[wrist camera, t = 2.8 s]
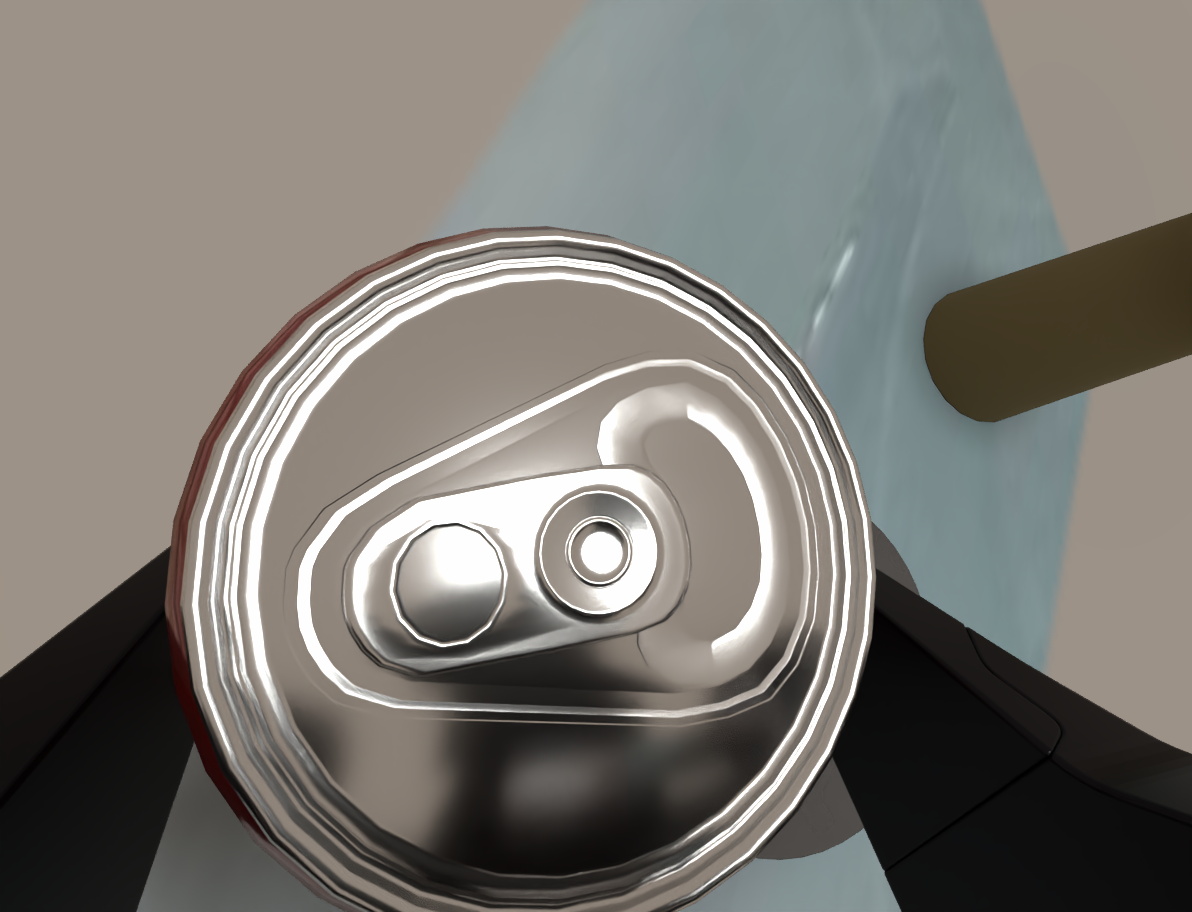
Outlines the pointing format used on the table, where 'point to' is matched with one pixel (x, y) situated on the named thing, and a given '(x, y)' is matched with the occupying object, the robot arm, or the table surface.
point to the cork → (1065, 324)
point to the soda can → (520, 582)
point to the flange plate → (833, 765)
